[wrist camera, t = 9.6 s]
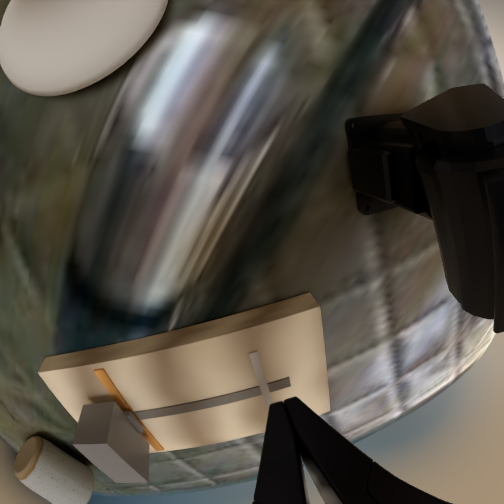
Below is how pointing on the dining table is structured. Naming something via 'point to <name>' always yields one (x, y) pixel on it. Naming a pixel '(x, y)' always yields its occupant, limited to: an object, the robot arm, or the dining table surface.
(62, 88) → the flower in vase
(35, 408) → the dining table surface
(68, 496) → the ceramic mug
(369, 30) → the dining table surface
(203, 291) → the dining table surface
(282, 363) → the fader console
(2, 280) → the dining table surface
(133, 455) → the fader tab
